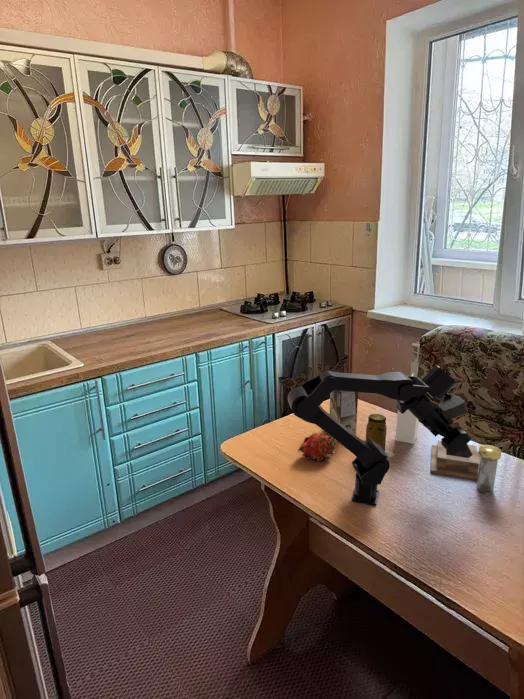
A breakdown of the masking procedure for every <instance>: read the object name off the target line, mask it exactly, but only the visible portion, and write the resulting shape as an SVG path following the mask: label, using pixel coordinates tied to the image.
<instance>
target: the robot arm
mask: <svg viewBox="0 0 524 699" xmlns="http://www.w3.org/2000/svg"><path fill="white" fill-rule="evenodd" d="M457 384H458V383H457V381H456V380H455V379H454V378H453V377H452V376H451V375H449V374H448V373H446V371H445V370H443V369H442V368H441V367H440V366H439V365H438V364H436V365H434V366H433V367H432V368H431V369H430V371H429V372H428V373H427V374H425V375H424V377H423V378H419V376H416V375H415V376H414V375H413V376H412V375H406V374H405V373H404V372H402V371H388V372H387V371H386V372H385V373H381V374H364V373H352V372H351V373H350V372H349V373H348V372H339V371H331V370H324V371H322V372H320V373H319V374H317V375H316V376H314V377H313V378H312V377H311V378H310V379H308V380H306V381H304V382H303V383H302V384H300V385H299V386H295V387H293V388H292V389H291V390H290V391H289V392H288V395H287V401H288V404H289V406H290V410H291V411H292V413H293V415H294V416H295V417H297V418H298V419H300V420H302V421H304V422H306V423H311V424H313V425H316V427H317V426H318V427H319V428H320V429H321V430H322V431H323V432H325V433H326V435H327V434H328V436H330V437H331V439H333V440H334V441H336V442H338V443H339V444H340V445H341V446H343V448H345V449H346V450H348V451H349V452H350V453H351V454H353V455H354V456H355V458H354V459H353V460H352V461H351V464H352V468H353V469H354V471H355V478H354V479H355V481H354V482H355V484H354V488H353V493H352V495H351V501H352V502H355V503H361V504H366V505H372V506H377V505H378V501H379V496H380V490H378V485H381V484H382V482H383V480H384V478H385V476H386V474H387V473H388V472H389V471H390V469H391V466H390V465H391V464H390V460H388V459H389V458H388V456H387V455H386V453H385V452H384V450H383V449H382V447H381V446H380V445H379V444H376V443H375V442H374V441H373V440H372V439H371V438H370V437H369V439H368V440H367V441H366V440H363V439H361V438H360V437H358V436H357V434H356V435H355V434H354V433H352V432H351V431H350V430H349V429H347V428H346V427H345V426H344V425H342V424H341V423H340V422H339V421H337V420H336V419H335V418H334V417H332V416H331V415H330V412H328V411H326V410H325V409H324V408H323V407H322V404H323V402H324V401H325V400H326V399H327V398H328V396H330V393H331V392H332V391H334V390H336V391H349V392H358V393H364V394H365V393H367V394H377V395H381V396H383V397H386V398H389V399H391V400H396V402H397V404H396V409H397V411H398V410H399V411H400V412H401V413H402V414H403V413H404V412H406V411H407V410H409V411H410V412H411V413H412V414H413V415H414V416H415V417H416V418H417V419H418V420H419V421H418V422H419V423H421V424H422V425H423V426H424V427H425V428H426V429H427V430H428V431H429V432H430V433H431V434H432V435H433V437H438V436H442V438H441V440H440V441H441V444H442V445H443V446H444V448H445V449H446V450H447V451H448V452H449V453H450V454H451V455H455V454H459V455H462V456H466V457H471V456H472V455H473V454H472V452H471V451H470V449H469V447H468V445H469V444H468V443H469V442H470V441H471V440H472V437H471V436H470V435H469V434H468V433H467V432H466V431H465V430H464V429H463V428H462V427H460V426H455V427H452V426H451V425H452V424H454V423H455V421H454V419H456V418H458V417H460V416H462V415H467V413H468V411H469V410H468V408H467V404H466V402H465V400H464V399H463V398H461V397H460V396H459V395H455V394H452V395H451V394H450V393H449V391H451V389H453V388H454V387H455V386H456V385H457ZM427 394H428V395H429V396H430V397H431V398H432V399H433V400H434V399H437V400H438V401H439V403H438V404H437V402H435V401H433V400H432V399H431V398H430V397H429V396H427Z"/></svg>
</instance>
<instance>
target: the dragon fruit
mask: <svg viewBox="0 0 524 699" xmlns="http://www.w3.org/2000/svg"><path fill="white" fill-rule="evenodd" d="M335 441H336V440H335V439H334V438H332V437H331V436H330V435H327V434H324V433H322V432H319V434H318V433H316V432H315V433H312V434H311V435H310V436H306V437H305V438H304V440H303V442H302V443H301V445H300V446H299V448H298V449H297V452H298V453H299V452H301V453H303V454H301V457H303V458H305V459H311V460H314V459H316V461H317V462H320V461H321V460H323V459H326V458H329V457H330V455H332V456H333V455H334V452H333V451H335V450H336V449H335V444H336V442H335Z"/></svg>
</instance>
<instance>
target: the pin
mask: <svg viewBox="0 0 524 699" xmlns="http://www.w3.org/2000/svg"><path fill="white" fill-rule="evenodd" d="M478 452H479V455H480V456H481V457H480V464H479V471H478V479H477V481H476V488H477V489H476V491H478V492H479V491H480V492H479V493H481V492H483V493H482V494H485V493H491V494H492V492H493V493H494V488H495V482H496V476H497V468H498V462H499V460H500V459H501V458H502V452H503V451H502V450H501V449H500V447H498V446H495V445H492V444H491V445H490V444H481V445H479V447H478Z"/></svg>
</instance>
